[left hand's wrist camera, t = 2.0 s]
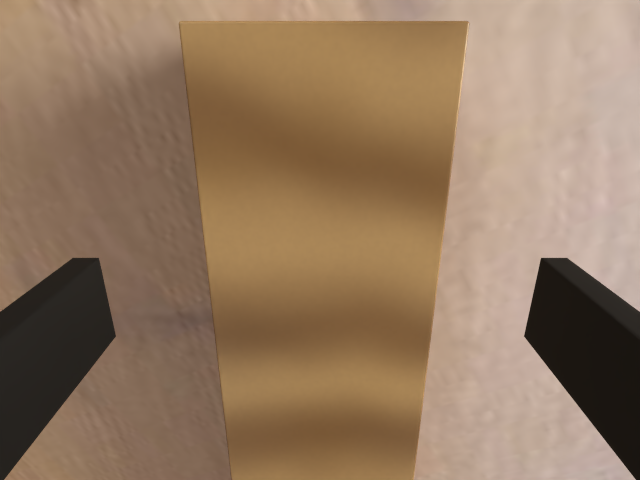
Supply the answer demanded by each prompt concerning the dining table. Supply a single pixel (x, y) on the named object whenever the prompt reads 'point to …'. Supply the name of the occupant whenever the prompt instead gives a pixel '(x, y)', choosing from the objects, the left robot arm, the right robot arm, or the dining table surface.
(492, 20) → the dining table surface
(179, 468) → the dining table surface
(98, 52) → the dining table surface
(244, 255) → the thick board
